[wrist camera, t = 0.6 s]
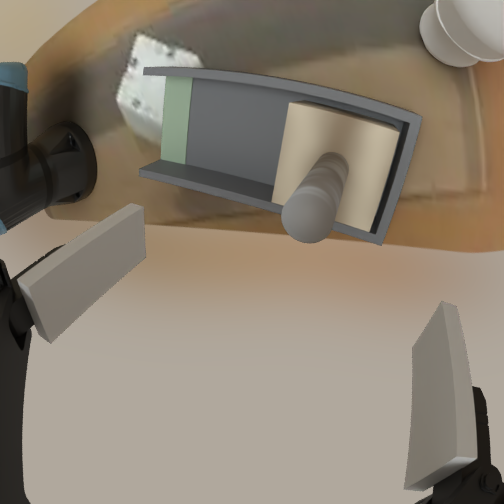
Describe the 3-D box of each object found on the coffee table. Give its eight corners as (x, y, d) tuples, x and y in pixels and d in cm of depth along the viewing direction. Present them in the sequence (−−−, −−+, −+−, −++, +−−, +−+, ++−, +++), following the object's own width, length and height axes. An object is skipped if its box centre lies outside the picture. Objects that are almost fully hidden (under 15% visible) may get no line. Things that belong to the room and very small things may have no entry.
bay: (165, 163, 43) (139, 176, 38) (172, 66, 35) (143, 67, 30) (380, 223, 36) (381, 245, 31) (414, 112, 29) (422, 116, 24)
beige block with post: (288, 182, 37) (218, 264, 21) (304, 99, 31) (235, 113, 16) (370, 206, 35) (362, 311, 19) (393, 124, 29) (420, 162, 14)
